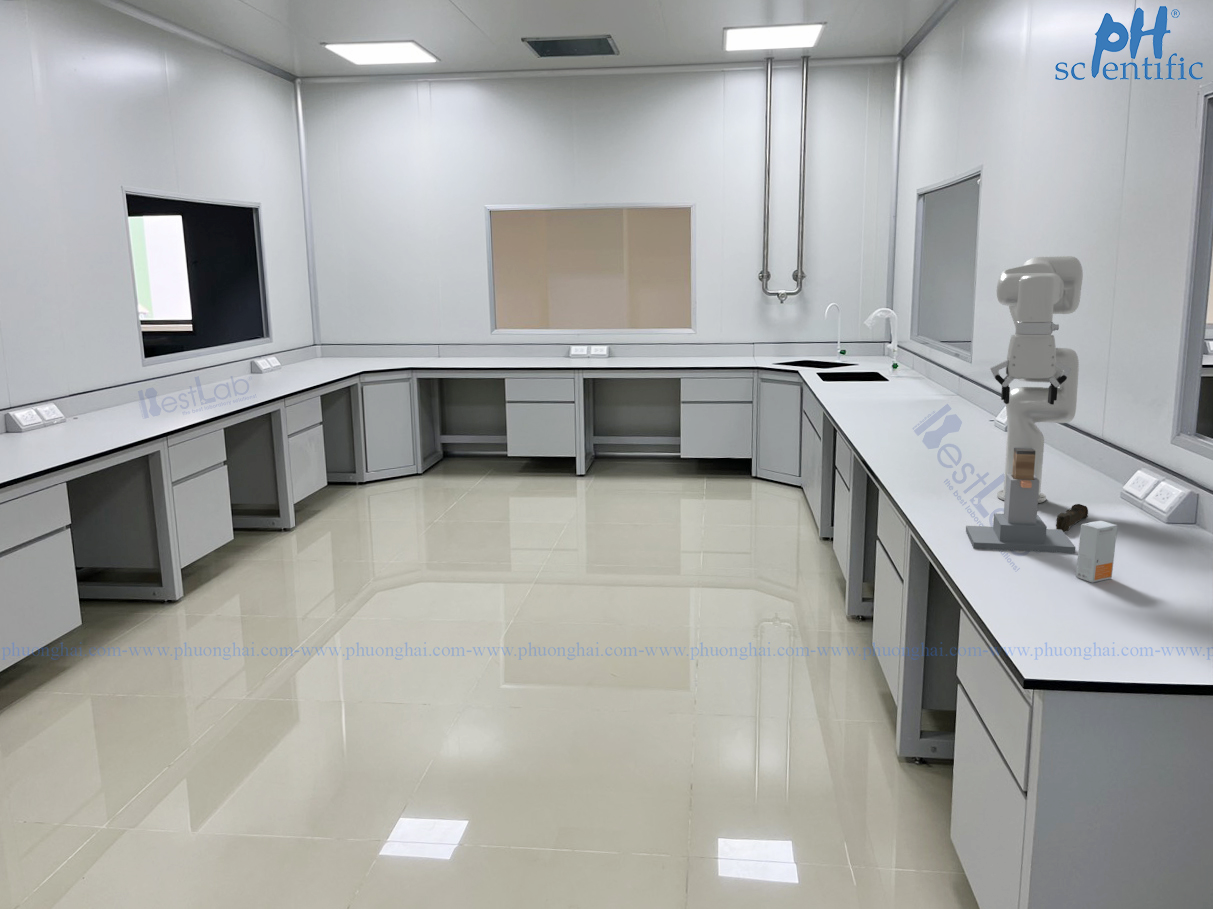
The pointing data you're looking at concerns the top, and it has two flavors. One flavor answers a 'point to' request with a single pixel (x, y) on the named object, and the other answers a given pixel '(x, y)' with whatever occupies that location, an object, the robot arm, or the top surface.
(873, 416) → the top surface
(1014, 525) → the stand base
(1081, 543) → the skincare box
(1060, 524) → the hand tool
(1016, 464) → the post
